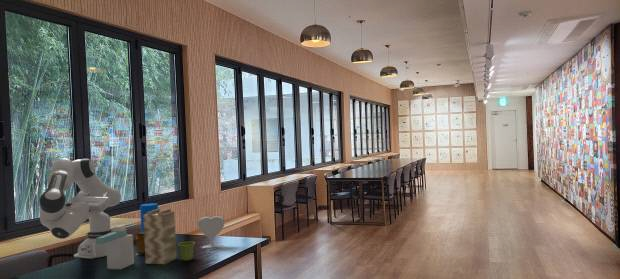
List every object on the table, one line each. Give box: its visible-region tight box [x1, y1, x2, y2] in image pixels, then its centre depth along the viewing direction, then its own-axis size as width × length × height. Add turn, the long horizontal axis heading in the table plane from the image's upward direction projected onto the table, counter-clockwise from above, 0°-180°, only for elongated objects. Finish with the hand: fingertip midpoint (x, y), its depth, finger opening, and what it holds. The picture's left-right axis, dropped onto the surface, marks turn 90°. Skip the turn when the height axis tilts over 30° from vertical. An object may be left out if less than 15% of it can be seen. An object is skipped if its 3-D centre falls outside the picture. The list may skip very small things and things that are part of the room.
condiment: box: [134, 231, 145, 256], centre depth 267 cm, size 7×8×12 cm
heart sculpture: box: [197, 215, 225, 249], centre depth 276 cm, size 16×5×18 cm, turn 97°
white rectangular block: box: [106, 234, 135, 270], centre depth 240 cm, size 8×11×16 cm
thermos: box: [139, 202, 159, 232], centre depth 293 cm, size 11×11×25 cm
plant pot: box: [176, 241, 196, 261], centre depth 248 cm, size 9×9×9 cm
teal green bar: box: [96, 224, 128, 244], centre depth 234 cm, size 4×21×6 cm, turn 170°
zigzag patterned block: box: [143, 208, 177, 265], centre depth 247 cm, size 12×11×28 cm
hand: (98, 193), depth 224 cm, fingers open, 8 cm apart
